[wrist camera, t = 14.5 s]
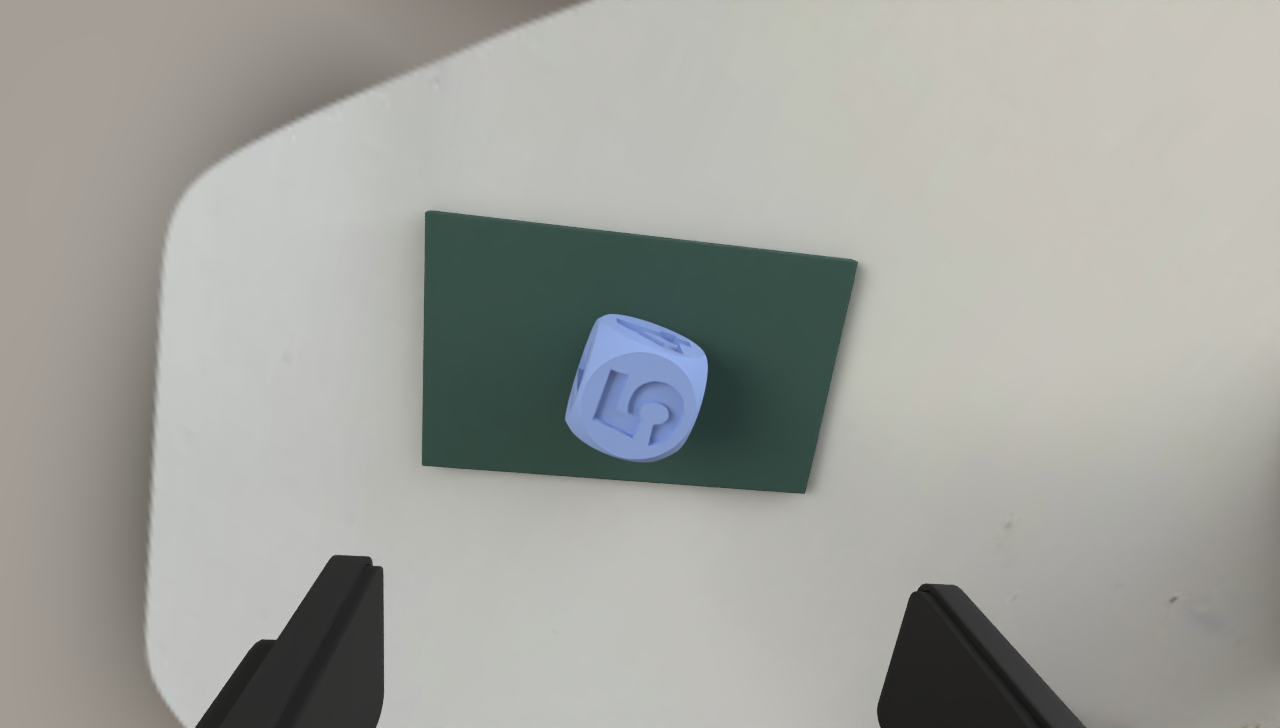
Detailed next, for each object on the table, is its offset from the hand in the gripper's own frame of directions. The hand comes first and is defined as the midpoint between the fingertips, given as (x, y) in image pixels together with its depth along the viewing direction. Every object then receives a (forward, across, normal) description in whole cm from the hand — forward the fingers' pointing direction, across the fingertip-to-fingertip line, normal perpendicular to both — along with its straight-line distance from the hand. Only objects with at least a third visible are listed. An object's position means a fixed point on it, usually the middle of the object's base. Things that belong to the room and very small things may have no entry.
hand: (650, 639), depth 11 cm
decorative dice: (+14, -1, 0) cm, 14 cm away
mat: (+14, -1, -1) cm, 15 cm away
